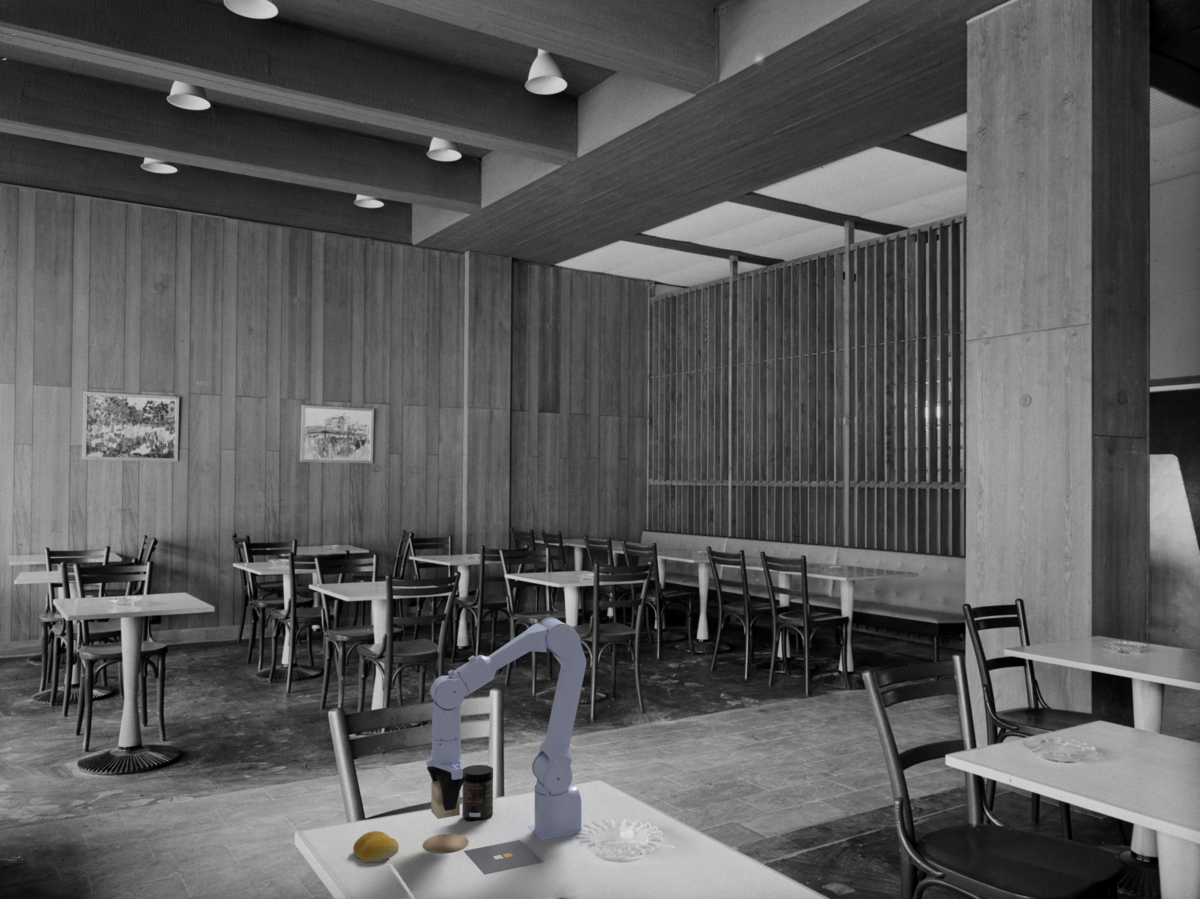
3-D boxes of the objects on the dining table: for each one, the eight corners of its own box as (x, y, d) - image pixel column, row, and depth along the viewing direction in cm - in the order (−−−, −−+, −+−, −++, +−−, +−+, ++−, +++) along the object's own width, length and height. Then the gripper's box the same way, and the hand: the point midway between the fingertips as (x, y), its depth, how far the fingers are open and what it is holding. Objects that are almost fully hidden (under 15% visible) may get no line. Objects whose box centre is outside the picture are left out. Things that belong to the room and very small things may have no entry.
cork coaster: (460, 834, 190) (460, 831, 190) (474, 850, 182) (474, 846, 182) (417, 842, 185) (417, 838, 185) (430, 859, 177) (430, 855, 177)
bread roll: (368, 868, 174) (368, 847, 174) (347, 853, 181) (347, 833, 181) (407, 856, 179) (407, 835, 180) (385, 842, 186) (385, 822, 186)
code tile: (520, 842, 186) (520, 839, 186) (543, 864, 175) (543, 861, 175) (463, 853, 180) (463, 850, 180) (484, 877, 169) (484, 874, 169)
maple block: (452, 808, 187) (452, 778, 187) (459, 815, 183) (459, 784, 183) (431, 811, 185) (431, 781, 185) (437, 819, 181) (437, 788, 181)
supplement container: (494, 811, 203) (494, 764, 203) (492, 823, 196) (492, 774, 196) (463, 812, 202) (463, 765, 203) (460, 824, 196) (460, 775, 196)
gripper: (416, 730, 189) (416, 797, 188) (438, 749, 176) (437, 820, 175) (449, 726, 192) (449, 791, 192) (472, 744, 179) (472, 814, 179)
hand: (446, 805), depth 184 cm, fingers closed on maple block, 4 cm apart
